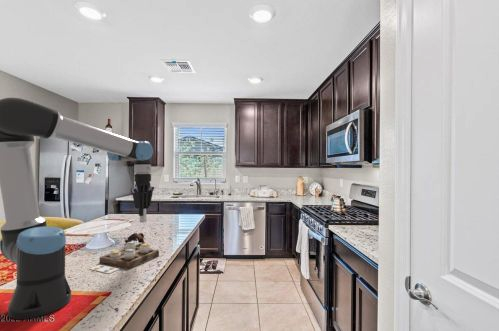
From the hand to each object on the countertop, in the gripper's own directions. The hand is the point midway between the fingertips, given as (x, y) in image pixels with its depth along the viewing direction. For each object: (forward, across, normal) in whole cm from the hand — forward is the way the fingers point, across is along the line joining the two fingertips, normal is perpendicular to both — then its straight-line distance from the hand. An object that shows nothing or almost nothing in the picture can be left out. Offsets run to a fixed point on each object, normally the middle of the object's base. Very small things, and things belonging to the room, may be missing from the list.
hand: (143, 222), depth 122 cm
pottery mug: (+17, +13, +17) cm, 28 cm away
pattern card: (+17, -18, +4) cm, 25 cm away
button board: (+17, -4, +4) cm, 18 cm away
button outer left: (+14, 0, +8) cm, 17 cm away
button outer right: (+14, 0, -1) cm, 14 cm away
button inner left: (+16, -9, +8) cm, 20 cm away
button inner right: (+14, -9, -1) cm, 17 cm away
